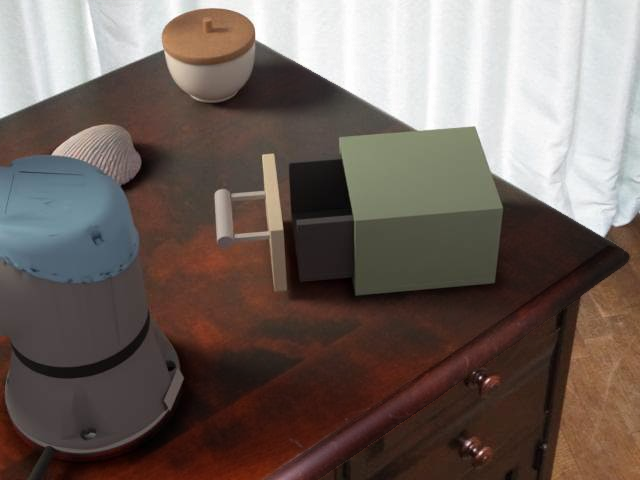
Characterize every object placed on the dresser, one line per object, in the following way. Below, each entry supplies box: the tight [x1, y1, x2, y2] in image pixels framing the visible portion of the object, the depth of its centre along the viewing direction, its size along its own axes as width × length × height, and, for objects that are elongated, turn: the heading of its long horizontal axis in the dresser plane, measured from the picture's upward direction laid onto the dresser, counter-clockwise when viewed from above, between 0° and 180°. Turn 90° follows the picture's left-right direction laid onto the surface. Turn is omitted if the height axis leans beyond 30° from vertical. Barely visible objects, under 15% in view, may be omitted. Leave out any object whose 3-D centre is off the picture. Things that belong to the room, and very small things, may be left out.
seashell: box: [51, 123, 142, 187], centre depth 125 cm, size 10×6×10 cm
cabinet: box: [338, 125, 504, 296], centre depth 112 cm, size 14×13×10 cm
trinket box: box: [160, 7, 256, 104], centre depth 133 cm, size 11×11×9 cm
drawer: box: [213, 153, 354, 293], centre depth 111 cm, size 18×11×8 cm, turn 96°
